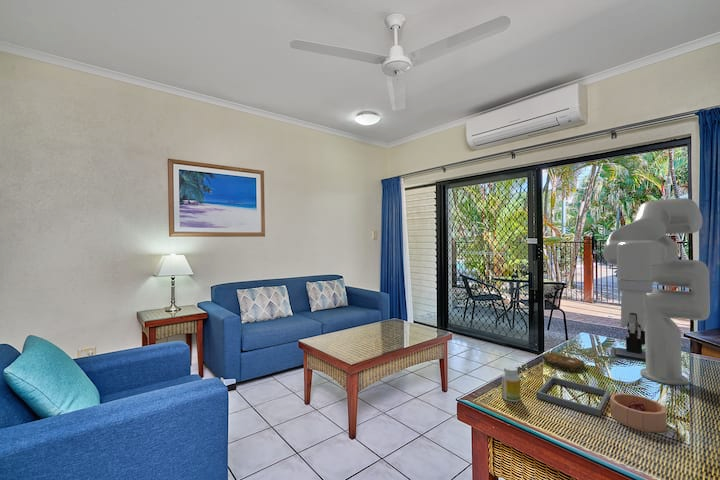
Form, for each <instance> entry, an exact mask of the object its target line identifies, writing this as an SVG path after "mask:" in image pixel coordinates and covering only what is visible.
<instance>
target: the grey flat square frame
mask: <svg viewBox="0 0 720 480" xmlns="http://www.w3.org/2000/svg"><path fill="white" fill-rule="evenodd" d="M553 384H557V385H560V386H564V387H568V388H572V389H576V390H580V391H584V392H587V393H592V394H596V395H599V396H602V398H601V400H600V402H599V404H598V406H597V407H594V406H592V405H588V404H585V403H584V404H583V403H580V402H577V401H573V400H569V399H566V398H563V397H560V396H555V395H552V394H548V393H546V392H547V390H548V389H549V388H550V387H551V386H552V385H553ZM610 394H611V391H610V390H609V389H606V388H605V389H604V388H602V387H597V386H593V385H589V384H588V385H587V384H583V383H579V382H576V381H572V380H567V379H564V378H558V377H555V376H550V377H549V378H548V379H547V380H546V381H545V383H543V384H542V385H541V387H540V388H539V389H538V390H536V394H535V395H536V396H535V397H536V398H537V399H538V400H539V399H540V400H543V401H545V402H546V401H547V402H550V403H553V404H556V405H559V406H564V407H567V408H569V409H570V408H571V409H574V410H577V411H581V412H583V413H586V414H591V415H594V416H598V417H601V416H602V414H603V412H604V410H605V407H606V406H607V403H608V401H609V400H610V397H611V395H610Z"/></svg>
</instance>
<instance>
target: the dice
mask: <svg viewBox="0 0 720 480" xmlns="http://www.w3.org/2000/svg"><path fill="white" fill-rule="evenodd" d="M628 408H631V409H634V410H638V411H642V412H646V409H645V407H644V404H641V403H637V402H633V401H632V403H631V404H630V405H629V406H628Z"/></svg>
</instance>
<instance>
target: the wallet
mask: <svg viewBox="0 0 720 480" xmlns="http://www.w3.org/2000/svg"><path fill="white" fill-rule="evenodd" d="M609 357H611V358H615V359H623V360H626V361H628V360H629V361H636V362H641V363H646V354H645V350H642V354H637V353H631V352H627V351H626V348H623V347H611V349H610V356H609Z"/></svg>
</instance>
